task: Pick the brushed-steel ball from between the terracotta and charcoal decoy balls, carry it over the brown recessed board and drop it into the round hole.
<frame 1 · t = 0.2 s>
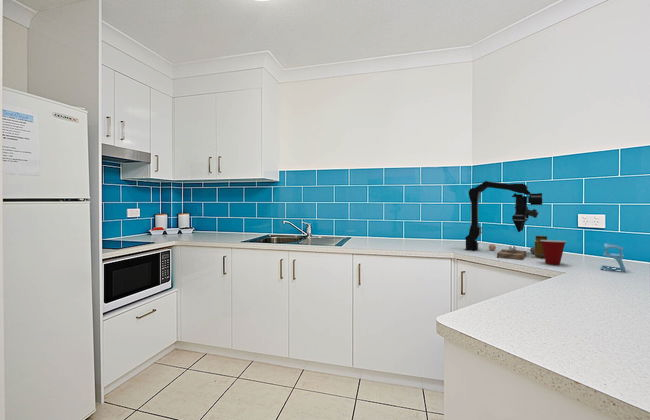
hand: (520, 231, 180), 13 cm above the counter, fingers open, 9 cm apart
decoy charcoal: (534, 250, 179), point 2 cm above the counter
condiment: (542, 258, 168), on the counter
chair: (612, 270, 138), on the counter
steel ball: (512, 248, 186), point 2 cm above the counter
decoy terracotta: (492, 247, 193), point 2 cm above the counter
brown recessed board: (511, 256, 173), on the counter
plastic cup: (552, 263, 153), on the counter
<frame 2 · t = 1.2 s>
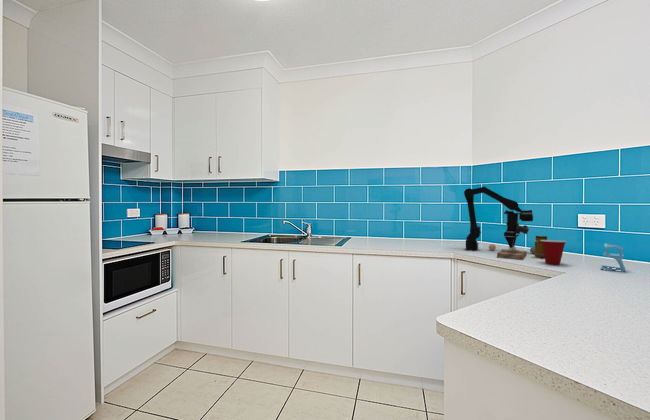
hand: (512, 246, 186), 3 cm above the counter, fingers open, 9 cm apart
nothing on the counter moved.
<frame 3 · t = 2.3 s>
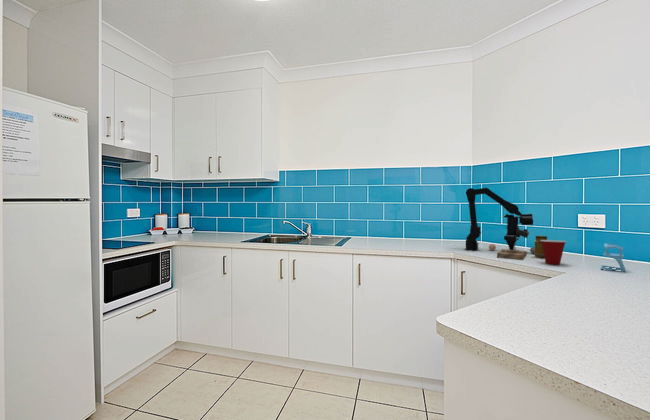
hand: (512, 250, 186), 1 cm above the counter, fingers closed on steel ball, 4 cm apart
steel ball: (512, 248, 186), point 2 cm above the counter, touching gripper
everything else where it was.
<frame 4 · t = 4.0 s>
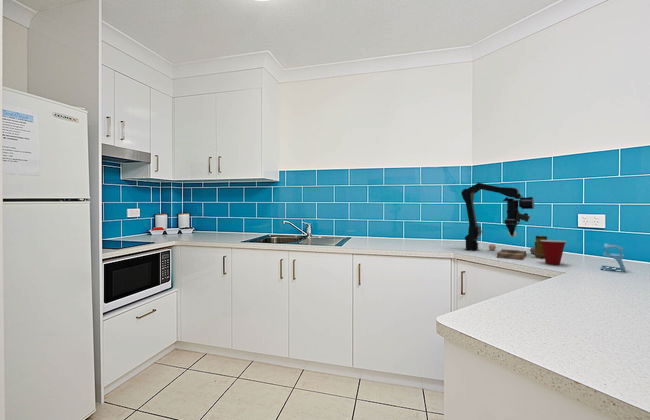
hand: (512, 235, 180), 11 cm above the counter, fingers closed on steel ball, 4 cm apart
steel ball: (512, 233, 180), point 12 cm above the counter, touching gripper
everything else where it was.
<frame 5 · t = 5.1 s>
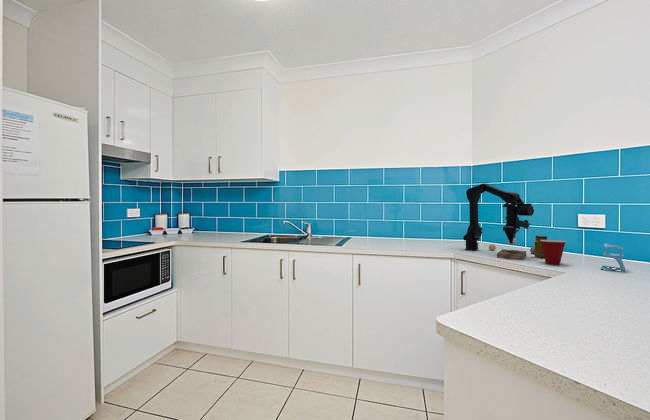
hand: (511, 242, 173), 8 cm above the counter, fingers closed on steel ball, 4 cm apart
steel ball: (512, 241, 173), point 9 cm above the counter, touching gripper
everything else where it was.
when the fingers open (5 cm above the counter, at t = 5.8 s): steel ball drops 4 cm, point 2 cm above the counter.
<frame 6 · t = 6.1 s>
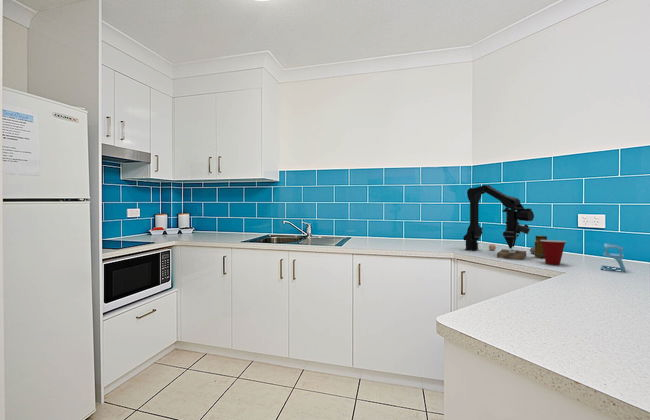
hand: (511, 247, 173), 5 cm above the counter, fingers open, 7 cm apart
steel ball: (512, 252, 173), point 2 cm above the counter
everything else where it was.
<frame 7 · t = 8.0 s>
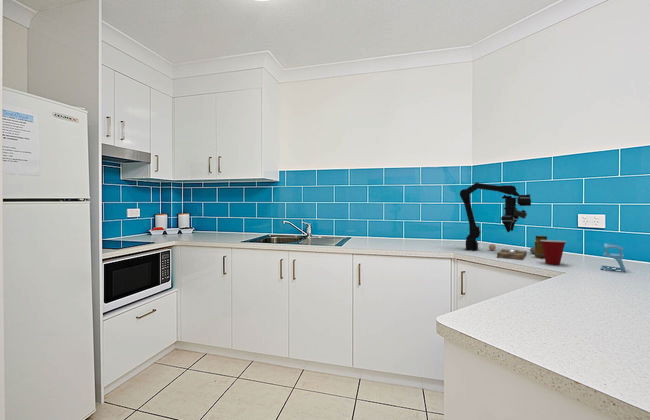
hand: (510, 231, 186), 13 cm above the counter, fingers open, 9 cm apart
nothing on the counter moved.
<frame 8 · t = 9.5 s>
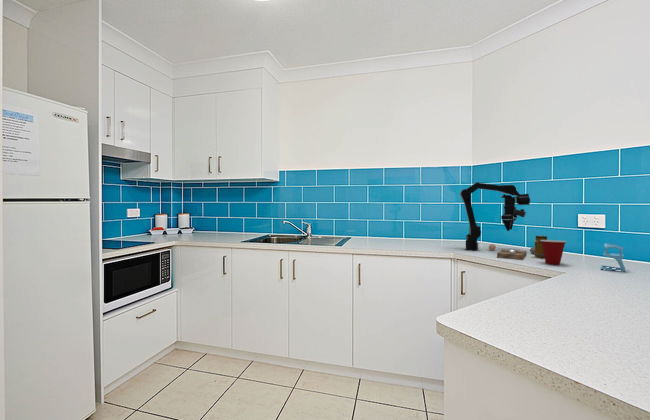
hand: (509, 230, 190), 13 cm above the counter, fingers open, 9 cm apart
nothing on the counter moved.
at the end: steel ball 0.1 cm off-centre in the brown recessed board, point 2.0 cm above the brown recessed board's base; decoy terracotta moved 0.0 cm from its start; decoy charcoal moved 0.0 cm from its start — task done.
